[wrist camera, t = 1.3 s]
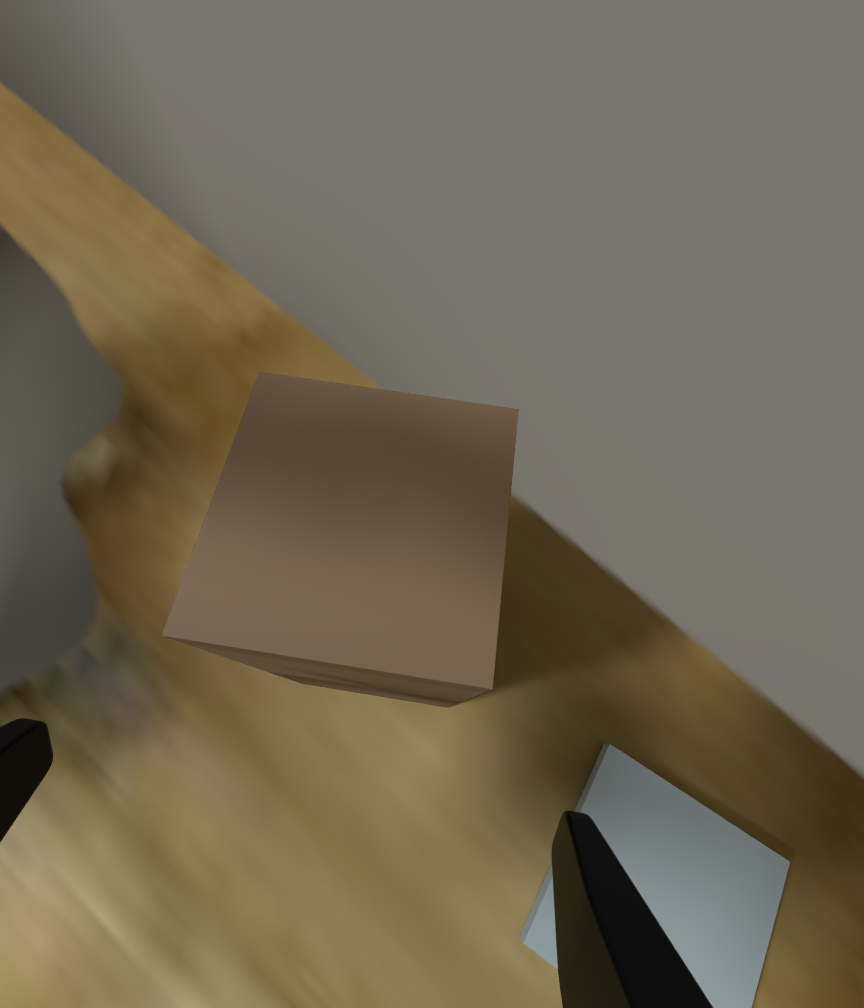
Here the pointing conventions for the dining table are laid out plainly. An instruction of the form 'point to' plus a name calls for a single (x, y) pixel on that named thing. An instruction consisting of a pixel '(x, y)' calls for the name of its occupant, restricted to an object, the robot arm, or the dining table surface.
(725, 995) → the slate-blue tile
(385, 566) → the walnut block
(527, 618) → the dining table surface
